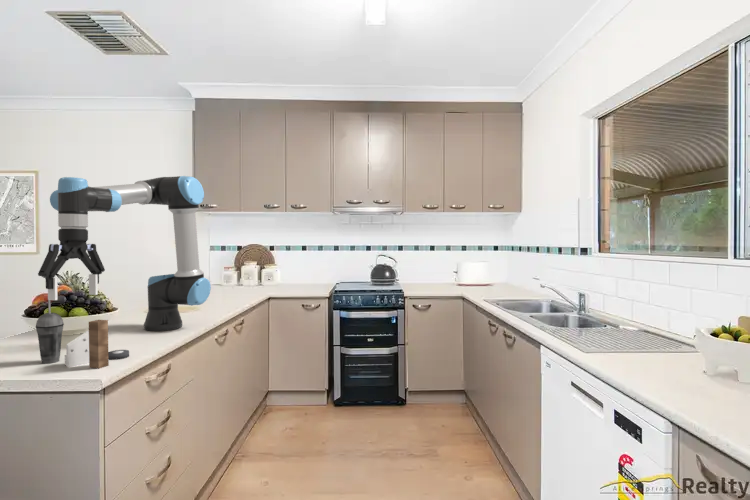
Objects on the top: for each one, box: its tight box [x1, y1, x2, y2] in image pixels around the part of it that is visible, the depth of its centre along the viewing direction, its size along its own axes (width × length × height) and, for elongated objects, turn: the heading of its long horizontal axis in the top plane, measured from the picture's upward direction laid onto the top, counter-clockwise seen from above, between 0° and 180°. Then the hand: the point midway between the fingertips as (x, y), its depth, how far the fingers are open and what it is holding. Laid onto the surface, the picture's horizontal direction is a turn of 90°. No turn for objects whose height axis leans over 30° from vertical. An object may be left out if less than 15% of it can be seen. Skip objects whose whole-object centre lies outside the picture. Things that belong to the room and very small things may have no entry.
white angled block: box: [64, 330, 89, 368], centre depth 136 cm, size 4×10×9 cm
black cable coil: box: [108, 349, 130, 361], centre depth 144 cm, size 6×6×2 cm
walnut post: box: [88, 319, 110, 370], centre depth 133 cm, size 4×4×14 cm
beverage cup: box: [35, 299, 65, 365], centre depth 138 cm, size 7×7×20 cm
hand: (74, 297), depth 135 cm, fingers open, 13 cm apart
